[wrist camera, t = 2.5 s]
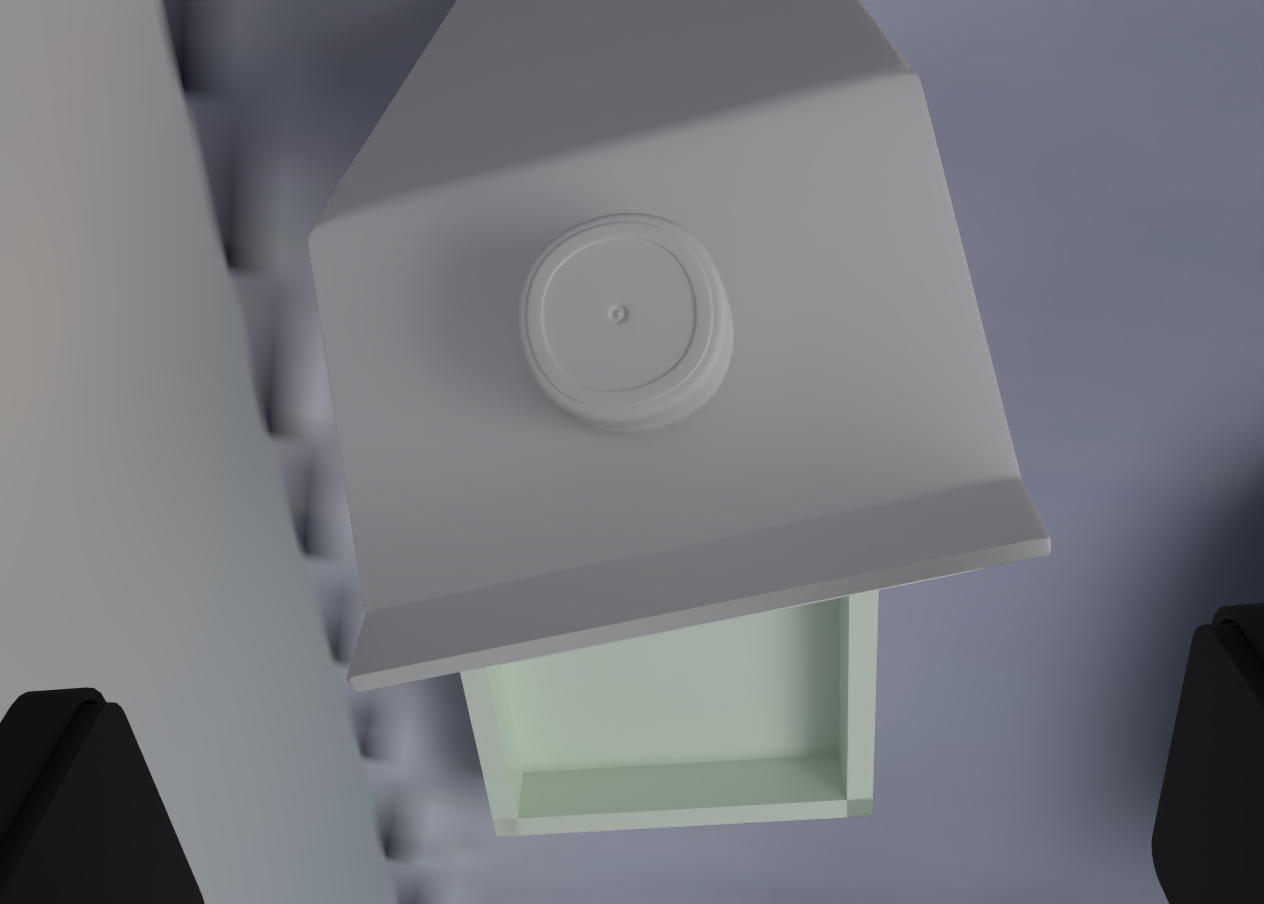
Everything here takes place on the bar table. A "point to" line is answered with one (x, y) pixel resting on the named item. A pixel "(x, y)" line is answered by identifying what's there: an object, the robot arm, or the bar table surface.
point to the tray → (686, 725)
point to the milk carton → (652, 333)
